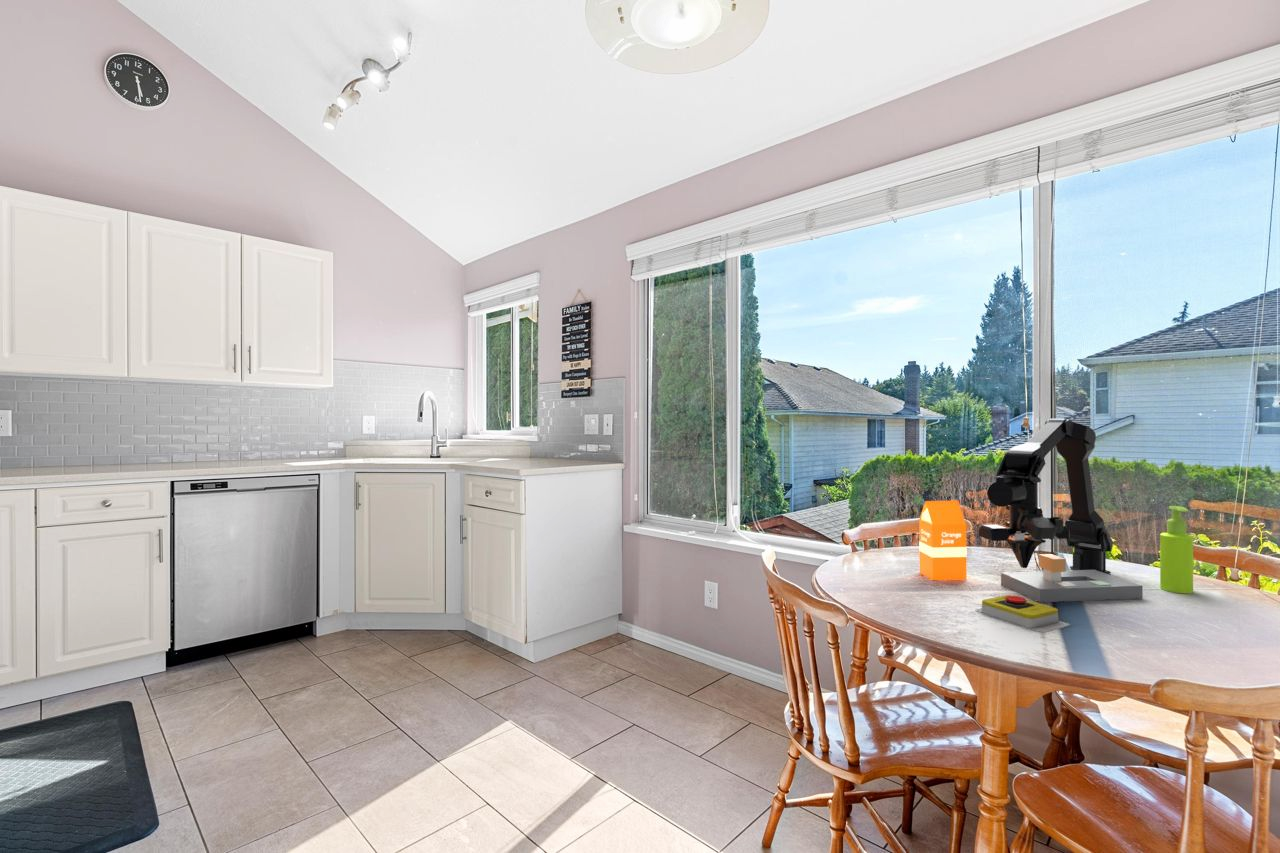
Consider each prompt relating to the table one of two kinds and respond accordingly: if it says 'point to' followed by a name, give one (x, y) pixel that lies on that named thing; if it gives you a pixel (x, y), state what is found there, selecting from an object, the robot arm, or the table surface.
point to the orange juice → (942, 541)
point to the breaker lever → (1052, 567)
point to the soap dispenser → (1176, 555)
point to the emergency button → (1022, 613)
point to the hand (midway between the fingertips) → (1023, 567)
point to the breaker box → (1071, 586)
